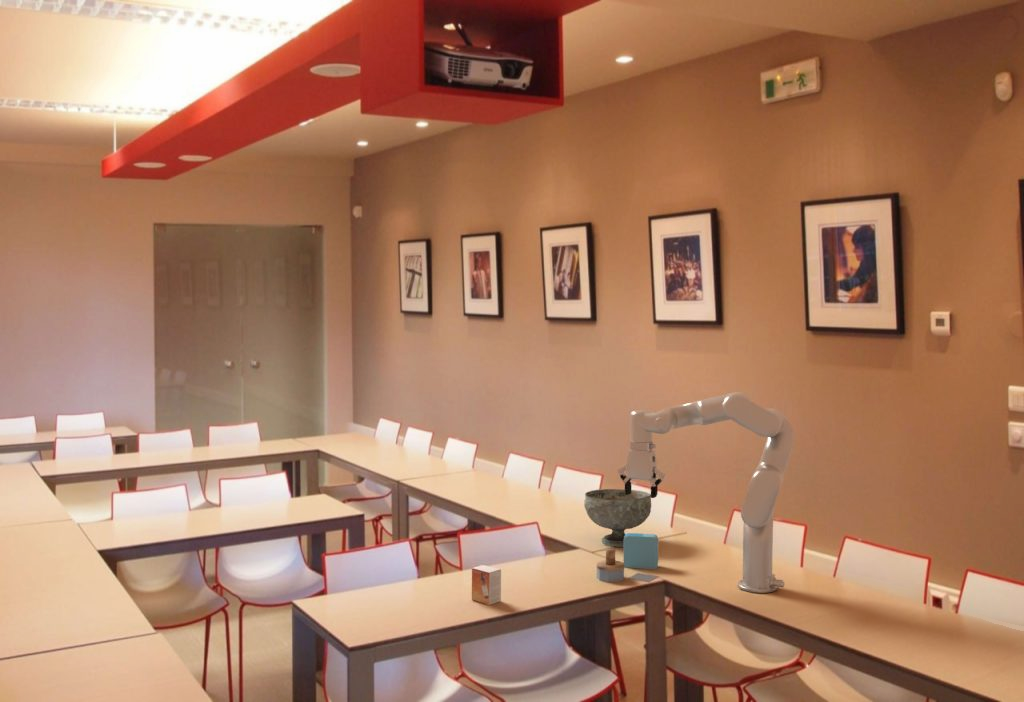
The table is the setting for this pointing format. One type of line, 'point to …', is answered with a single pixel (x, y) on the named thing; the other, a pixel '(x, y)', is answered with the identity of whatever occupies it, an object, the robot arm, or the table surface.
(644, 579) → the mat
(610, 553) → the lid
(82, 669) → the table surface
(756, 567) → the robot arm
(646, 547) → the data package
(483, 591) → the small box
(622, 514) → the decorative bowl
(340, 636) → the table surface
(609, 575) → the bowl
